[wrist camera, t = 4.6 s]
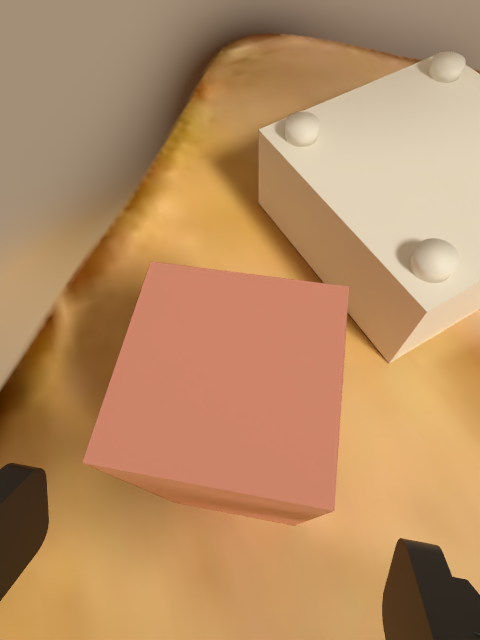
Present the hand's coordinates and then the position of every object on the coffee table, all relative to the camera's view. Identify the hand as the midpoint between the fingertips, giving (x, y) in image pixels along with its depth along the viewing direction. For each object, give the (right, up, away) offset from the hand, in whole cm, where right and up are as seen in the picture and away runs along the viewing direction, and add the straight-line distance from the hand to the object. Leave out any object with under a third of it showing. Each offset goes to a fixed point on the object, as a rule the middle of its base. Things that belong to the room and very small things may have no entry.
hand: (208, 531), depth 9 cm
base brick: (+10, +10, +14) cm, 20 cm away
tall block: (+1, -1, +9) cm, 9 cm away
